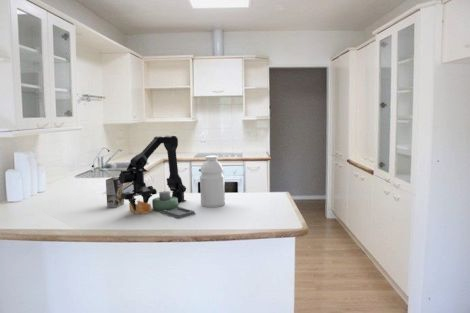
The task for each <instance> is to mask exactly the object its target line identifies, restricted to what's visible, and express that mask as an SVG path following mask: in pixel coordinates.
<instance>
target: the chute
mask: <svg viewBox="0 0 470 313" xmlns="http://www.w3.org/2000/svg"><path fill="white" fill-rule="evenodd" d="M128 204H129V212H130V211H131V212H133V213H135V212H136V214H138V215H145V214H149V213H152V208H151V203H149V202H148V203H145V202H143V200H142V201H141V200H137V203H135V205H136V210H134V209H133V207H132V205H131V203H130V202H129V203H128Z"/></svg>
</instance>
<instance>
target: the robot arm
mask: <svg viewBox="0 0 470 313" xmlns="http://www.w3.org/2000/svg"><path fill="white" fill-rule="evenodd" d="M161 144H163V146H164V148H165V150H166V151H167V159H168V172H169V176H168V177H166V186H168V188H169V192H171V197H176V198H178V204H179V203H183V202H186V201H187V200H186V199H185V192H186V191H187V187H186V186H185V185H184V184H183V180H182V178H181V176H180V174H179V169H178V168H179V167H178V158H177V148H178V146H179V145H178V144H179V139H178V137H177V136H175V135H164V136H160V135H159V136H156V135H155V136H154V137H153V139H152V141H150V142H149V143H148V144H147V146H146V147H145V148H144V149H143V150H142V151H141V152H140V153H138V154H136V155H135V156H134V157H132V158H131V159H130V161H129V164H128V166H127V168H126V170H120V173H119V175H118V177H119V181H120V183H121V184H123V185H124V184H129V183H131V185H133V186H132V187H133V188H132V192H129V191H126V192H124V193H122V194H121V198H122V199H124V201H125V200H126V201H129V203H131V205H132V207H133V209H134V210H136V205H135V204H136V200H137V198H135V197H136V196H141V197H142V202H145V203H148V204H149V200H150V198H151V197H153V196H154V195H157V193H158V192H157V191H158V190H157V189H156V188H154V187H153V186H152V185H148V186H147V184H146V182H145V179H144V178H145V175H144V173H146V172H147V171H148V170H147V169H146V168H145V167H146V164H147V163H148V159H149V158H150V156H151V155H153V154H154V152H155V151H156V150H157V149H158V147H160V145H161Z"/></svg>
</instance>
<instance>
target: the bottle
mask: <svg viewBox="0 0 470 313" xmlns="http://www.w3.org/2000/svg"><path fill="white" fill-rule="evenodd" d="M199 171H200V173H201V175H200V176H199V180H200V181H199V184H200V190H199V191H200V205H201V206H202V207H204V208H218V207H223V206H224V205H225V204H226V200H225V199H226V196H225V175H224V174H223V172H224V168H223V165H222V164H221V162H220V161H219V160H218V155H206V156H205V161H204V162H203V163H202V165H201V166H200V170H199Z"/></svg>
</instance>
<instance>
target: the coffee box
mask: <svg viewBox="0 0 470 313" xmlns="http://www.w3.org/2000/svg"><path fill="white" fill-rule="evenodd" d="M105 191H106V207H107V208H115V209H117V208H119V207H121V206H123V205H124V204H125V199H122V198H121V194H122V193H125V192H124V184H121V183H120V181H119V176H113V177H110V178H107V179H105Z"/></svg>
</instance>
